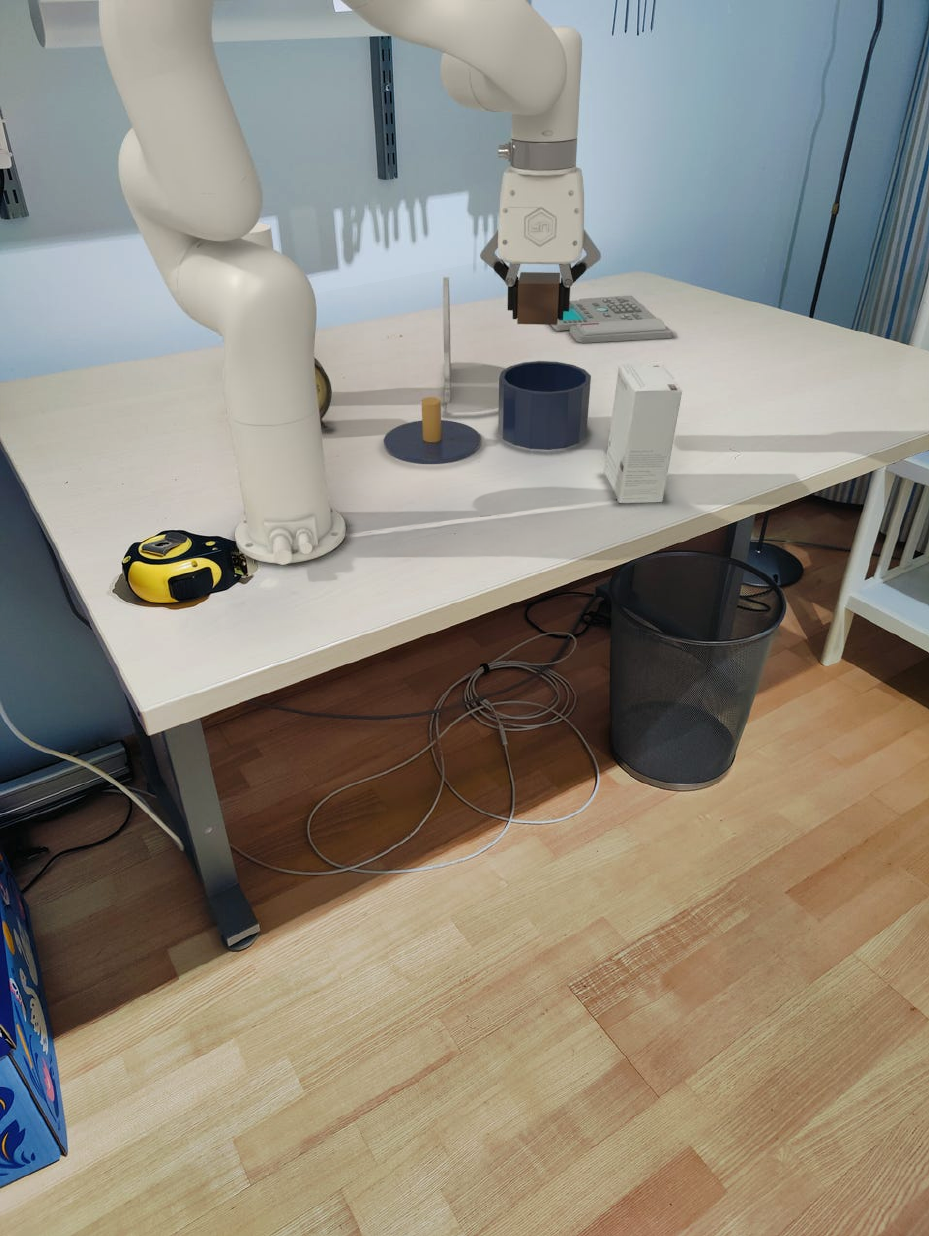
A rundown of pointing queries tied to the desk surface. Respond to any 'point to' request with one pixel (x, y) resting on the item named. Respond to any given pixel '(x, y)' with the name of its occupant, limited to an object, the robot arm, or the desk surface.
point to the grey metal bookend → (467, 375)
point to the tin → (543, 404)
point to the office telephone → (611, 320)
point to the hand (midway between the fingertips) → (538, 315)
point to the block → (538, 298)
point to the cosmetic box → (642, 432)
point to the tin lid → (432, 438)
